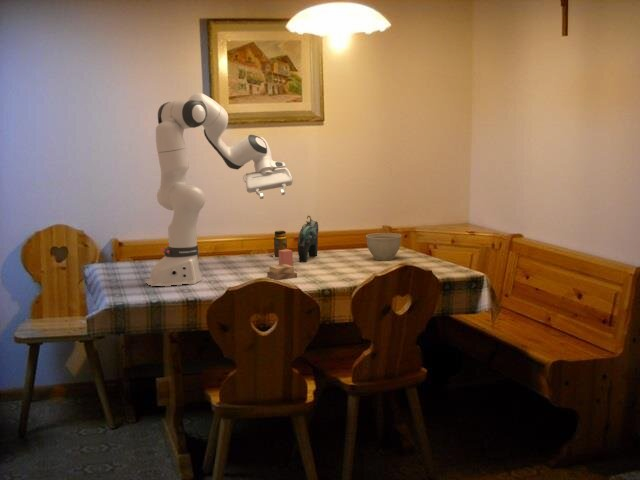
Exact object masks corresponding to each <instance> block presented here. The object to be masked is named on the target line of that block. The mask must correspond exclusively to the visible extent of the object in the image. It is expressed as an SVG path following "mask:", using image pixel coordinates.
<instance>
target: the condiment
mask: <svg viewBox="0 0 640 480" xmlns="http://www.w3.org/2000/svg"><path fill="white" fill-rule="evenodd" d="M286 233H287V232H286V231H285V230H275V231H274V237H273V254H272V255H275V257H273V256H272V255H268V257H270V258H274V259H279V250H286V249H288V244H287V243H288V241H287V240H288V239H287V234H286Z"/></svg>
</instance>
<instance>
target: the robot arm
mask: <svg viewBox="0 0 640 480" xmlns="http://www.w3.org/2000/svg"><path fill="white" fill-rule="evenodd" d="M228 114H229V113H228V112H227V110H226V109H225V108H224V107H223V106H222V105H220V104H219V103H218V102H217V101H215V99H212V98H211V97H210V96H208V95H206V94H205V93H202V92H196V93H194V94H193V95H191V96H190V97H189V98H188V99H187V100H181V99H180V100H173V101H168V102H164V103H163V104H161V105H160V107H159V108H158V111H157V123H158V125H157V126H156V127H155V145H156V152H157V155H158V162H159V167H160V186H159V189H158V190H157V193H156V199H157V202H158V204H159V205H160V206H161V207H163V208H165V209H166V210H169V211H172V212H173V214H172V220H171V223H170V224H169V225H168V228H167V232H168V233H167V234H168V236H167V237H168V247H166V248H165V247H163V246H162V247H161V248H160V252H161V253H162V254H164V257H162V258H161V259H160V260H159V261H158V262H157V263H155V264H154V265H153V266H152V267H151V271H150V278H148V279H145V281H144V284H146V283H147V284H148V285H147V284H146V285H147V286H149V285H151V286H150V287H152V286H165V287H172V286H171V285H177V286H183V285H182V284H189V285H195V284H196V283H198V282H201V281H203V277H202V274H201V273H202V272H201V270H200V265H199V255H200V254H199V253H200V252H199V245H198V243H197V242H198V240H197V235H198V234H197V227H198V225H197V224H198V218H199V214H200V213H201V210H202V209H203V208H204V206H205V203H206V195H205V192H204V191H203V190H202V189H201V188H199V187H197V186H195V185H193V184H188V183H187V182H186V181H187V180H186V176H187V172H188V170H189V169H190V162H189V158H188V153H187V147H186V142H185V138H184V131H185V130H186V129H191V128H192V129H195V128H199V127H201V126H203V128H204V130H203V134H204V137H205V139H206V140H207V142H208V143H209V144H210V145H211V147H212V148H213V149H214V150H215V151H216V152H217V154H218V155H219V156H220V157H221V159H222V160H223V161H224V163H225V165H226V166H227V167H228V168H229V169H232V170H237V171H238V170H239V169H241V168H243V167H244V166H245V165H246V164H247V163H249V162H250V161H253V163H254V164H253V167H254V170H255V171H253V172H247V173H245V174H244V175H243V177H242V179H243V182H244V183H245V186H246V187H245V188H246V192H247V193H248V194H251V193H255V194H256V195H257V196H258V197H259V199H260V200H261V199H262V200H263V199H264V194H263V192H262V191H267V190H273V189H278V188H282V189H280V193H281V196H284V195H286V189H287V188H286V187H289V186H292V185H293V183H294V182H293V177H292V174H291V172H290V170H289V169H288V168H287V165H286V163H285V162H283V161H282V162H281V161H274V160H273V154H272V151H271V148H270V146H269V143H268V141H267V140H266V139H265V137H262V136H258V135H255V134H249V135H247V136H245V137H243V138H242V139H240V140H239V141H238V142H236V143H234V144H233V145H231V146H228V145H227V144H226V143H225V142H224V141H223V139H222V138H221V136H222V134H223V133H224V132H225V131H226V129H227V126H228V124H229V115H228ZM261 192H262V193H261Z"/></svg>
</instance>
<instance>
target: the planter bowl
mask: <svg viewBox="0 0 640 480" xmlns="http://www.w3.org/2000/svg"><path fill="white" fill-rule="evenodd" d="M365 239H366V244H367V245H366V246H367V249H368V250H369V253H370V254H371V255H372V257H373V259H374V260H376V261H391V260H394V259H395V258H396V257H395V256H396V255H397V254H398V252H399V250H400V247H401V244H402V242H401V241H402V234H400V233H395V232H394V233H393V232H378V233H377V232H376V233H369V234H366V235H365Z"/></svg>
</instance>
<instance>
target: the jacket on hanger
mask: <svg viewBox="0 0 640 480" xmlns="http://www.w3.org/2000/svg"><path fill="white" fill-rule="evenodd" d="M311 217H312V216H310V215H307V217H306V219H307V220H308V219H309V220H308V221H307V220H306V221H305V223H304V224H303V225H302V226H301V228H300V231H299V234H298V239H297V252H298V261H299V263H307V262H308V257H309V258H317V257H318V244H319V242H318V241H319V239H318V238H319V224H318V221H317V220H313V219H312V218H311Z"/></svg>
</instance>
